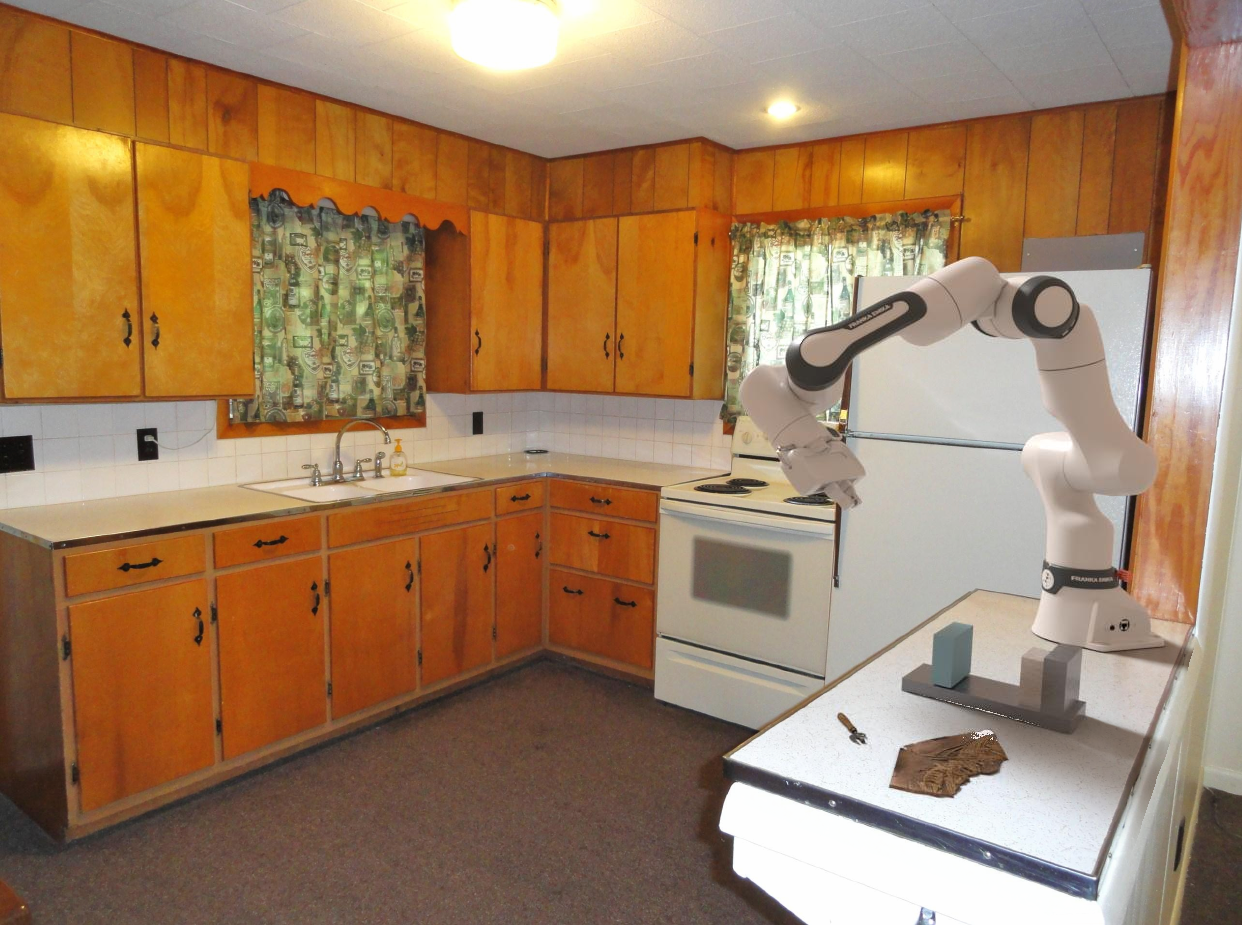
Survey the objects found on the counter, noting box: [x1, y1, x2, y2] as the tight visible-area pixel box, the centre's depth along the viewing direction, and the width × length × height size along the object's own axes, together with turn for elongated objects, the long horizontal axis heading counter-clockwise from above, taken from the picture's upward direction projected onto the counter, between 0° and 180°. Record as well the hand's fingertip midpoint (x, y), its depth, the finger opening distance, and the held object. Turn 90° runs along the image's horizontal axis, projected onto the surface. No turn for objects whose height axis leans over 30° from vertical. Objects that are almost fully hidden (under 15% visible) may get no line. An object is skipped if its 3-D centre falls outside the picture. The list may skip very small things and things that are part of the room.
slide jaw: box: [931, 621, 974, 688], centre depth 130 cm, size 3×9×8 cm, turn 139°
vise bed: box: [901, 643, 1087, 735], centre depth 126 cm, size 24×9×10 cm, turn 49°
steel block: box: [1018, 646, 1052, 709], centre depth 122 cm, size 3×6×7 cm, turn 139°
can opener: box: [836, 712, 867, 746], centre depth 116 cm, size 9×2×1 cm, turn 0°
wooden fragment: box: [888, 731, 1009, 798], centre depth 108 cm, size 26×11×1 cm, turn 129°
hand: (853, 506), depth 139 cm, fingers closed
